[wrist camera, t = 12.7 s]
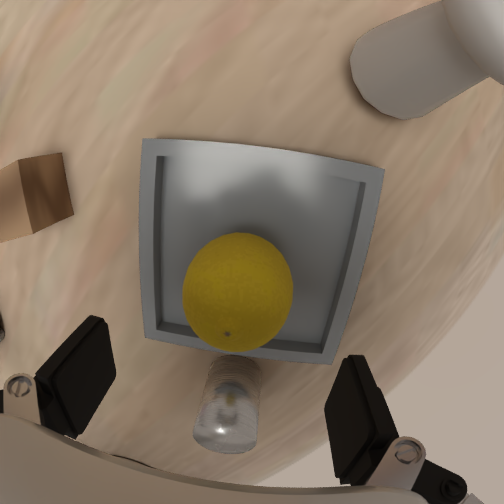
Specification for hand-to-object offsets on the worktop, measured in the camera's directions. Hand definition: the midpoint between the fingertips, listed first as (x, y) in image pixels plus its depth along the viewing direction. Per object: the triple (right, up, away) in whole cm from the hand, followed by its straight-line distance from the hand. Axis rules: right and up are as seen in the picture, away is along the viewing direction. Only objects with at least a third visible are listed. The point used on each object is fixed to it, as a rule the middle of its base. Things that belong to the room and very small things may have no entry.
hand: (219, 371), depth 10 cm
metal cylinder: (0, -6, +13) cm, 14 cm away
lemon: (+1, +4, +8) cm, 9 cm away
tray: (+1, +4, +9) cm, 10 cm away
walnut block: (-15, +9, +8) cm, 20 cm away
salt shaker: (+10, +15, +4) cm, 19 cm away
